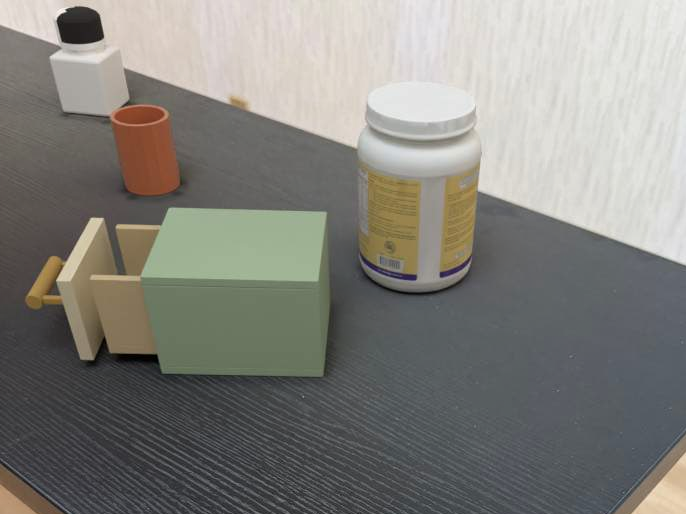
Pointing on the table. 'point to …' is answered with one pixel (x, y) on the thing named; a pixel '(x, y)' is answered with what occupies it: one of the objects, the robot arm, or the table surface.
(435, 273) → the supplement tub
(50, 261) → the drawer
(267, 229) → the cabinet
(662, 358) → the table surface
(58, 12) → the medicine bottle
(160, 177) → the cup
